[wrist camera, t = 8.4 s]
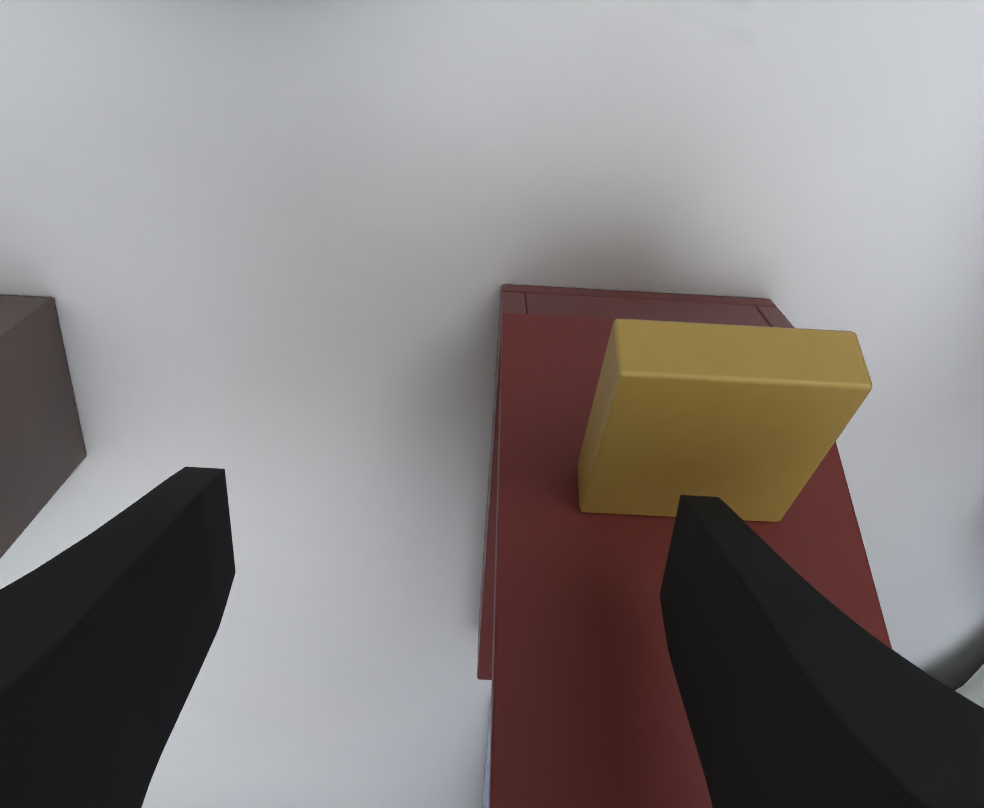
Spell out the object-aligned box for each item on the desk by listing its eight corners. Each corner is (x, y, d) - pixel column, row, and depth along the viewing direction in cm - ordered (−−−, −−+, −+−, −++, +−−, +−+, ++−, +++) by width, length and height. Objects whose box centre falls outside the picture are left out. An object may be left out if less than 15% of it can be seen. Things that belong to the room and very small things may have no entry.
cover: (967, 987, 12) (1219, 975, 8) (483, 970, 12) (505, 951, 8) (798, 342, 20) (887, 176, 16) (501, 325, 20) (517, 153, 16)
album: (692, 639, 27) (706, 690, 26) (478, 629, 27) (477, 679, 25) (771, 298, 22) (797, 330, 20) (501, 282, 22) (501, 313, 20)
